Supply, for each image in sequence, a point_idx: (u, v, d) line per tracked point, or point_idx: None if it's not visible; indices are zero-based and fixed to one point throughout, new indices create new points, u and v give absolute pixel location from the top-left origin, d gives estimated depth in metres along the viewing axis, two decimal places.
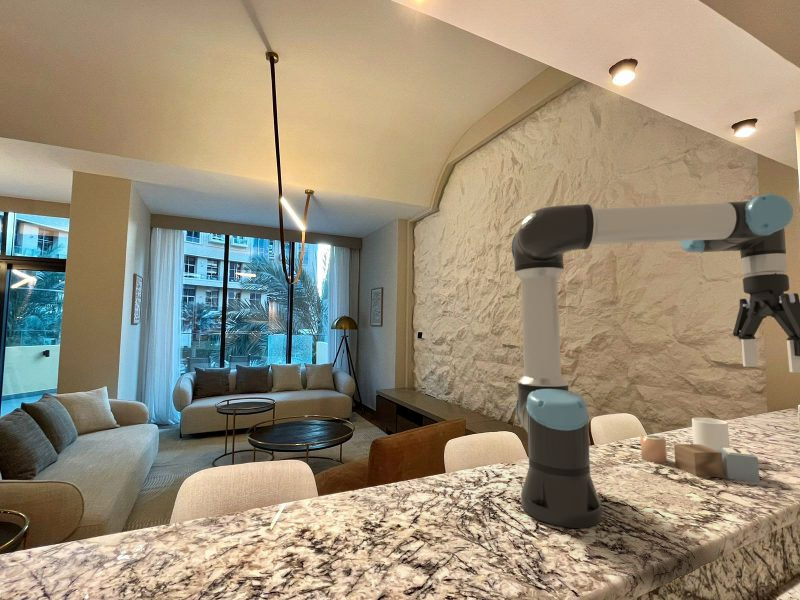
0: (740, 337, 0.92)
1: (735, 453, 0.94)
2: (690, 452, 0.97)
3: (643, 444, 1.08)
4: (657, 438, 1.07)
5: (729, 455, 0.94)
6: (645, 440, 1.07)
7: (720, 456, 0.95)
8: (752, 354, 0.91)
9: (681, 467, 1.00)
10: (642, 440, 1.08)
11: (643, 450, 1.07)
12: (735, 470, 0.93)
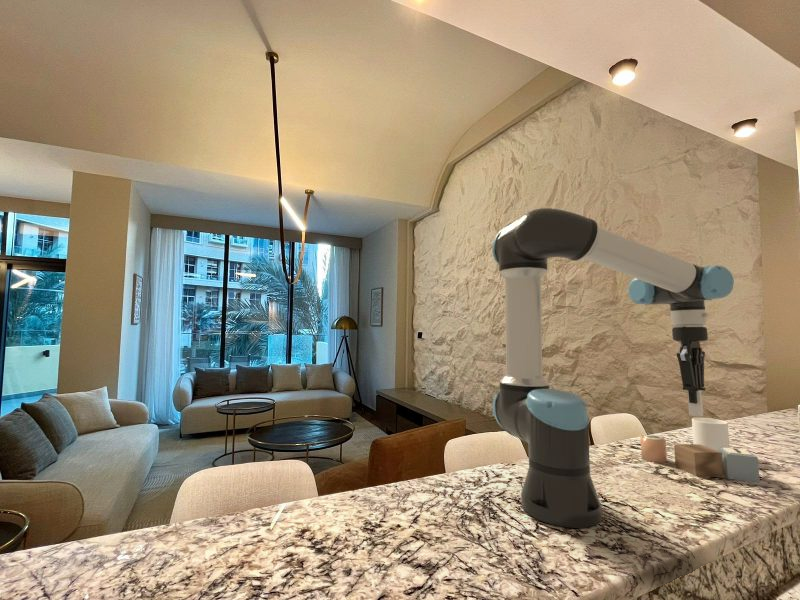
0: None
1: (735, 453, 0.94)
2: (690, 452, 0.97)
3: (643, 444, 1.08)
4: (657, 438, 1.07)
5: (729, 455, 0.94)
6: (645, 440, 1.07)
7: (720, 456, 0.95)
8: None
9: (681, 467, 1.00)
10: (642, 440, 1.08)
11: (643, 450, 1.07)
12: (735, 470, 0.93)
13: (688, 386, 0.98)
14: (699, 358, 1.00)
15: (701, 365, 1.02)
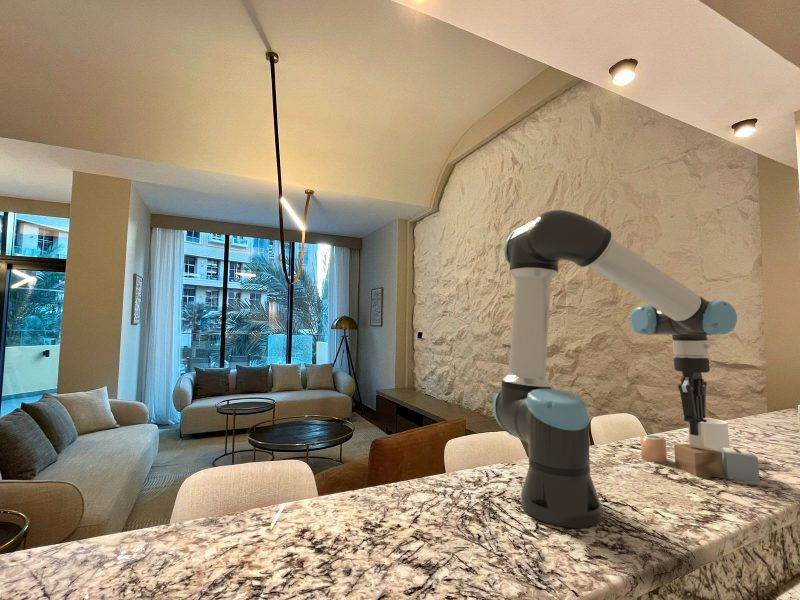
0: None
1: (735, 453, 0.94)
2: (690, 452, 0.97)
3: (643, 444, 1.08)
4: (657, 438, 1.07)
5: (729, 455, 0.94)
6: (645, 440, 1.07)
7: (720, 456, 0.95)
8: None
9: (681, 467, 1.00)
10: (642, 440, 1.08)
11: (643, 450, 1.07)
12: (735, 470, 0.93)
13: (689, 418, 0.97)
14: (701, 389, 0.99)
15: (702, 396, 1.01)
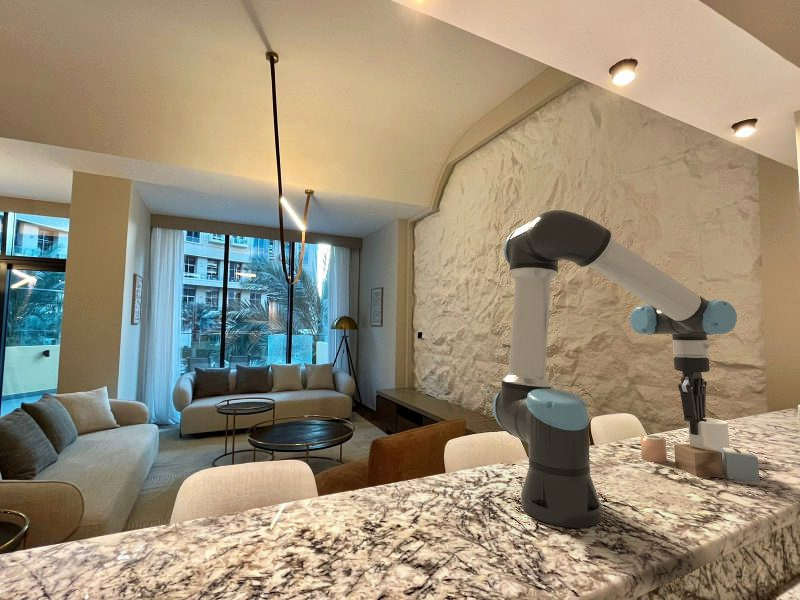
0: None
1: (735, 453, 0.94)
2: (690, 452, 0.97)
3: (643, 444, 1.08)
4: (657, 438, 1.07)
5: (729, 455, 0.94)
6: (645, 440, 1.07)
7: (720, 456, 0.95)
8: None
9: (681, 467, 1.00)
10: (642, 440, 1.08)
11: (643, 450, 1.07)
12: (735, 470, 0.93)
13: (689, 417, 0.97)
14: (701, 389, 0.99)
15: (702, 396, 1.01)
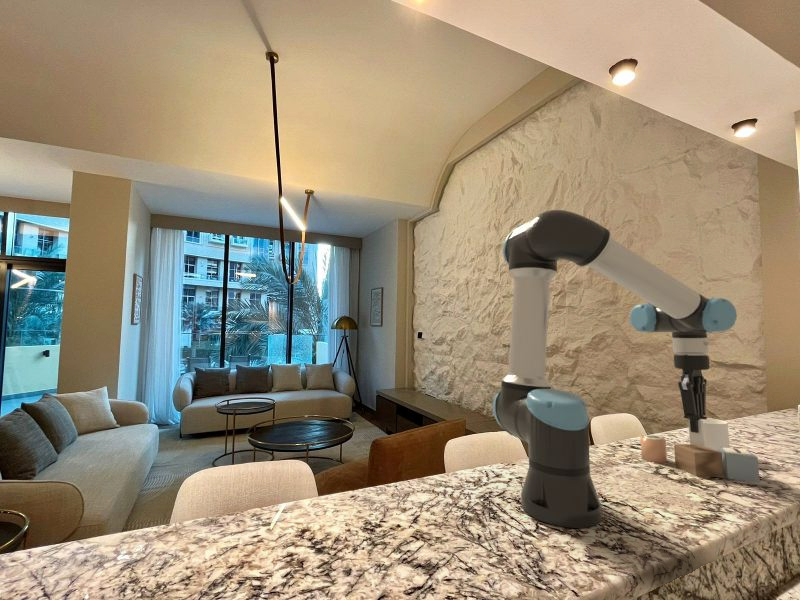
0: None
1: (735, 453, 0.94)
2: (690, 452, 0.97)
3: (643, 444, 1.08)
4: (657, 438, 1.07)
5: (729, 455, 0.94)
6: (645, 440, 1.07)
7: (720, 456, 0.95)
8: None
9: (681, 467, 1.00)
10: (642, 440, 1.08)
11: (643, 450, 1.07)
12: (735, 470, 0.93)
13: (689, 415, 0.98)
14: (701, 386, 0.99)
15: (702, 393, 1.01)
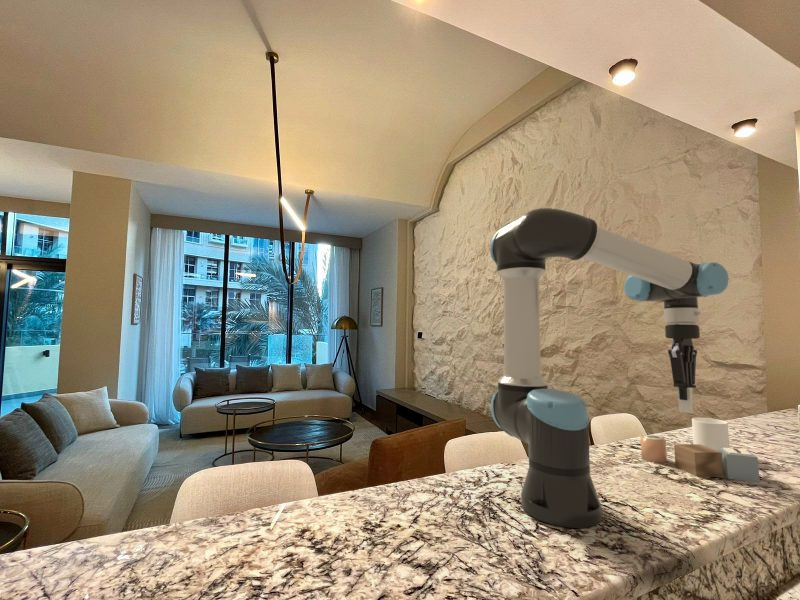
0: None
1: (735, 453, 0.94)
2: (690, 452, 0.97)
3: (643, 444, 1.08)
4: (657, 438, 1.07)
5: (729, 455, 0.94)
6: (645, 440, 1.07)
7: (720, 456, 0.95)
8: None
9: (681, 467, 1.00)
10: (642, 440, 1.08)
11: (643, 450, 1.07)
12: (735, 470, 0.93)
13: (678, 383, 1.00)
14: (690, 356, 1.02)
15: (692, 363, 1.04)
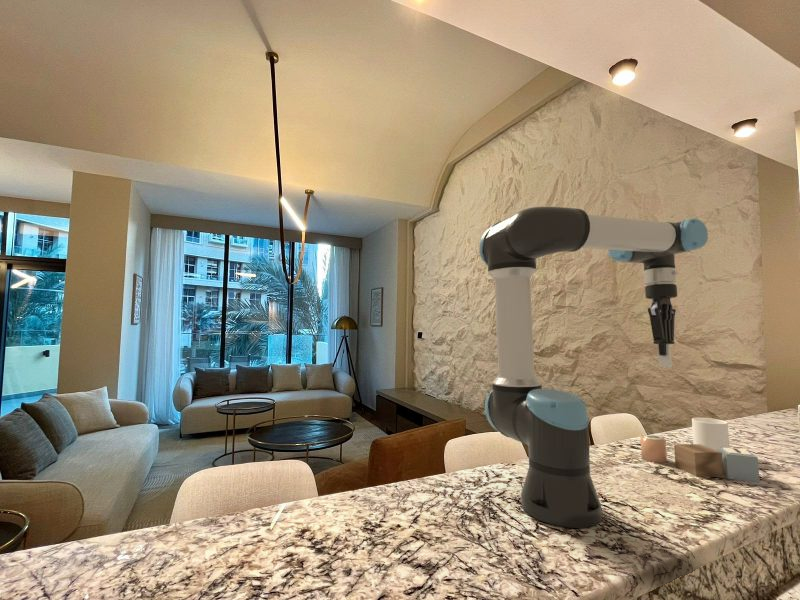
0: None
1: (735, 453, 0.94)
2: (690, 452, 0.97)
3: (643, 444, 1.08)
4: (657, 438, 1.07)
5: (729, 455, 0.94)
6: (645, 440, 1.07)
7: (720, 456, 0.95)
8: None
9: (681, 467, 1.00)
10: (642, 440, 1.08)
11: (643, 450, 1.07)
12: (735, 470, 0.93)
13: (658, 339, 1.05)
14: (669, 314, 1.07)
15: (671, 321, 1.09)
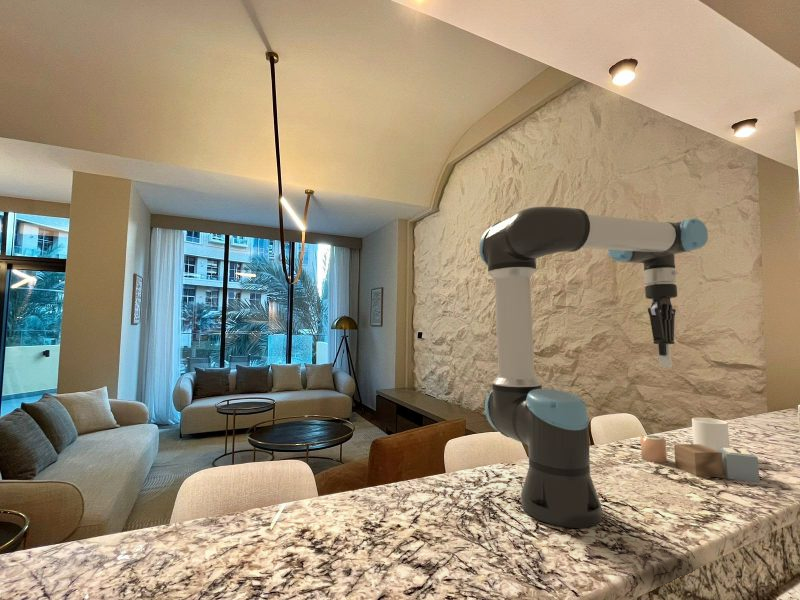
0: None
1: (735, 453, 0.94)
2: (690, 452, 0.97)
3: (643, 444, 1.08)
4: (657, 438, 1.07)
5: (729, 455, 0.94)
6: (645, 440, 1.07)
7: (720, 456, 0.95)
8: None
9: (681, 467, 1.00)
10: (642, 440, 1.08)
11: (643, 450, 1.07)
12: (735, 470, 0.93)
13: (658, 339, 1.05)
14: (669, 314, 1.07)
15: (671, 321, 1.09)
